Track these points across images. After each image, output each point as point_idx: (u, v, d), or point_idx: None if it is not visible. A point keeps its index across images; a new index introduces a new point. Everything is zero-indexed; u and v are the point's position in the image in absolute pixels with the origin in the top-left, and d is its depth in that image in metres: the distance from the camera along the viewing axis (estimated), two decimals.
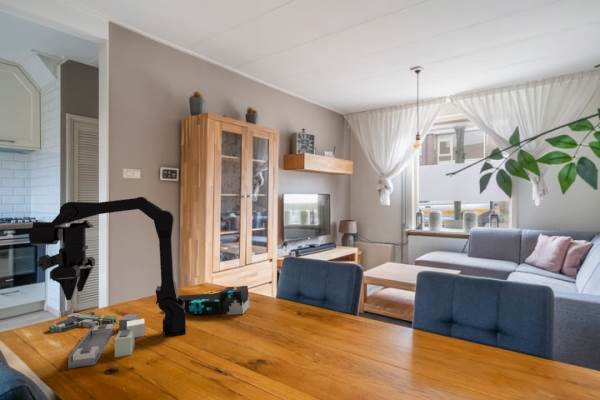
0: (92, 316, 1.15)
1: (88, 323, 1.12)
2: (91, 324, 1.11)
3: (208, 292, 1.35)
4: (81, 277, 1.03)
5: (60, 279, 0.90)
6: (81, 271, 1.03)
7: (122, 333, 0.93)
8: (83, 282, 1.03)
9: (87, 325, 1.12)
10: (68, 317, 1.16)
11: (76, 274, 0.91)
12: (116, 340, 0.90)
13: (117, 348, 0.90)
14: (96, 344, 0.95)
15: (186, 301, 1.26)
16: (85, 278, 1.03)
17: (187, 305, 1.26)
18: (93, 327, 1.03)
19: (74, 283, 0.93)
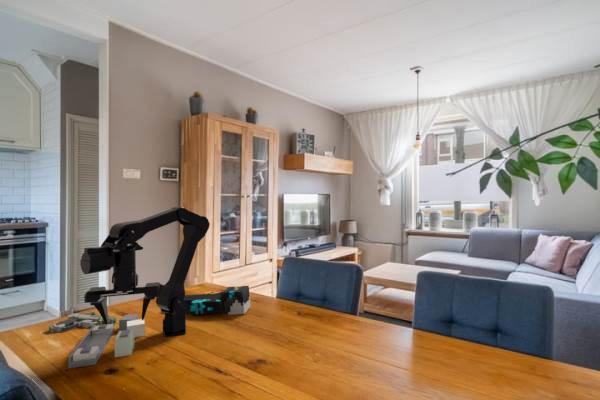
0: (92, 316, 1.15)
1: (88, 323, 1.11)
2: (91, 324, 1.11)
3: (209, 292, 1.34)
4: None
5: None
6: None
7: (122, 333, 0.93)
8: (142, 311, 0.94)
9: (87, 325, 1.11)
10: (68, 317, 1.16)
11: (87, 300, 0.88)
12: (116, 340, 0.90)
13: (117, 348, 0.90)
14: (96, 344, 0.95)
15: (187, 301, 1.26)
16: None
17: None
18: (93, 327, 1.03)
19: None
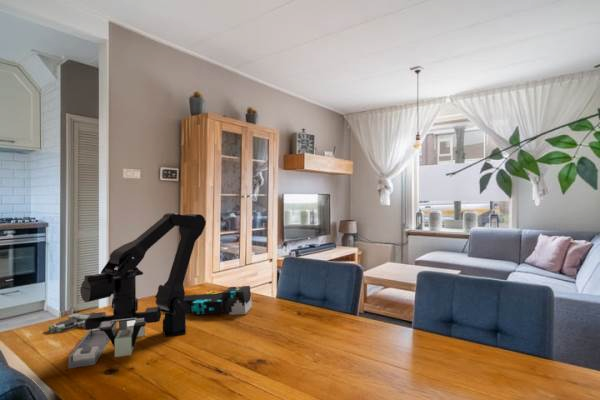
0: None
1: None
2: None
3: (210, 292, 1.34)
4: None
5: None
6: None
7: (121, 333, 0.93)
8: (132, 338, 0.93)
9: None
10: (69, 317, 1.15)
11: (87, 327, 0.88)
12: (116, 340, 0.90)
13: (116, 347, 0.90)
14: (96, 344, 0.95)
15: (188, 301, 1.26)
16: None
17: None
18: None
19: None
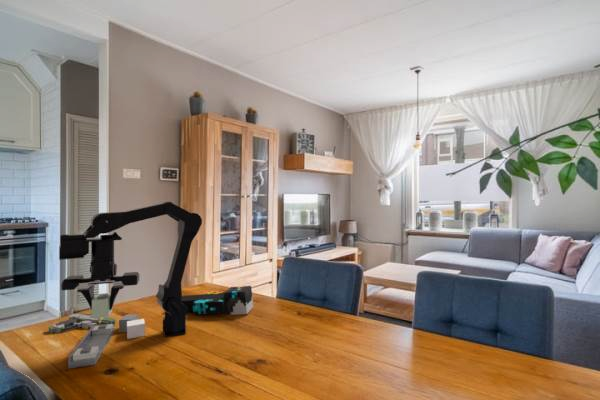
0: None
1: (87, 324, 1.10)
2: (90, 326, 1.10)
3: (211, 292, 1.34)
4: None
5: None
6: None
7: (99, 295, 0.94)
8: (110, 301, 0.95)
9: (86, 326, 1.10)
10: (69, 317, 1.15)
11: (64, 288, 0.89)
12: (93, 301, 0.91)
13: (94, 309, 0.91)
14: (96, 344, 0.95)
15: (190, 301, 1.25)
16: None
17: (191, 305, 1.25)
18: (93, 327, 1.03)
19: None
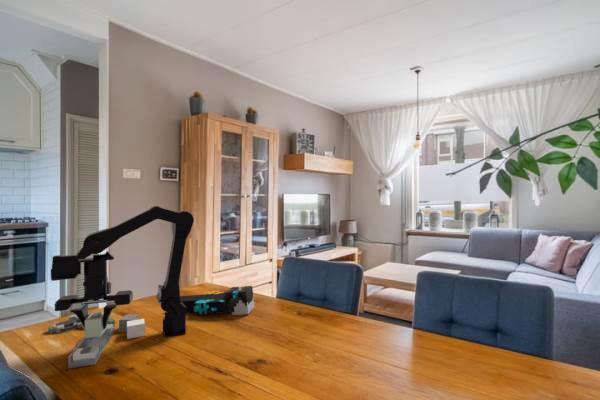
0: None
1: None
2: None
3: (212, 292, 1.34)
4: None
5: None
6: None
7: (93, 315, 0.95)
8: None
9: None
10: (69, 318, 1.15)
11: (58, 308, 0.90)
12: (86, 321, 0.92)
13: (87, 328, 0.92)
14: (96, 344, 0.95)
15: (191, 301, 1.25)
16: None
17: (192, 305, 1.25)
18: None
19: None
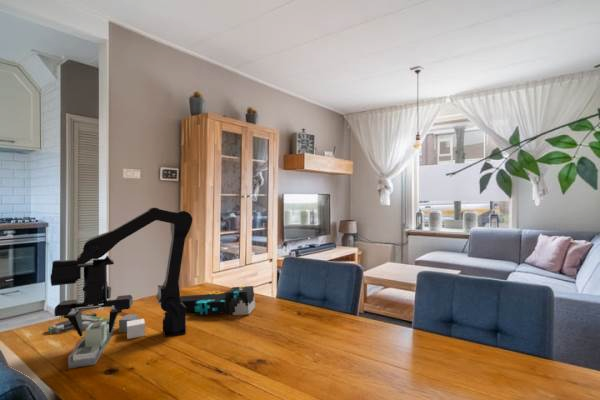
0: (92, 318, 1.14)
1: (86, 325, 1.10)
2: None
3: (213, 292, 1.34)
4: None
5: None
6: None
7: (93, 324, 0.95)
8: (109, 324, 0.96)
9: (85, 327, 1.10)
10: None
11: (57, 313, 0.90)
12: (87, 331, 0.92)
13: (87, 339, 0.92)
14: None
15: (192, 301, 1.25)
16: None
17: (193, 305, 1.25)
18: None
19: None
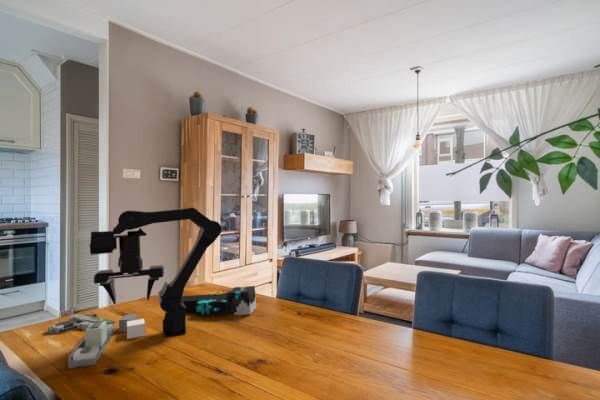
0: (91, 318, 1.13)
1: (86, 326, 1.09)
2: None
3: (215, 292, 1.34)
4: None
5: None
6: None
7: (93, 324, 0.95)
8: (147, 291, 1.02)
9: (85, 328, 1.09)
10: (70, 318, 1.15)
11: (97, 281, 0.96)
12: (87, 331, 0.92)
13: (87, 339, 0.92)
14: None
15: (193, 301, 1.25)
16: None
17: (194, 305, 1.25)
18: None
19: None
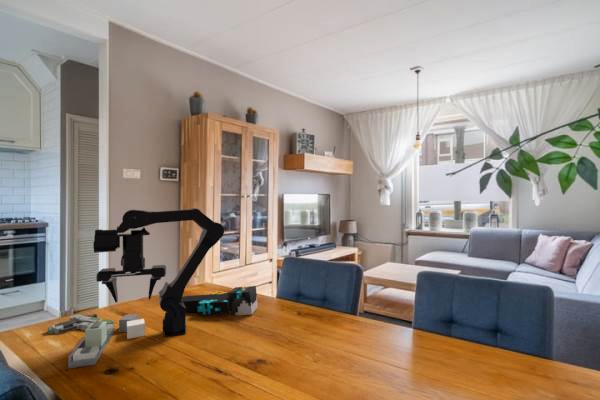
0: (91, 319, 1.13)
1: (85, 326, 1.09)
2: (87, 327, 1.08)
3: (216, 292, 1.34)
4: None
5: None
6: None
7: (93, 324, 0.95)
8: (149, 291, 1.02)
9: (84, 328, 1.09)
10: (70, 318, 1.14)
11: (99, 279, 0.96)
12: (87, 331, 0.92)
13: (87, 339, 0.92)
14: None
15: (194, 301, 1.25)
16: (149, 287, 1.02)
17: (195, 306, 1.25)
18: None
19: None
